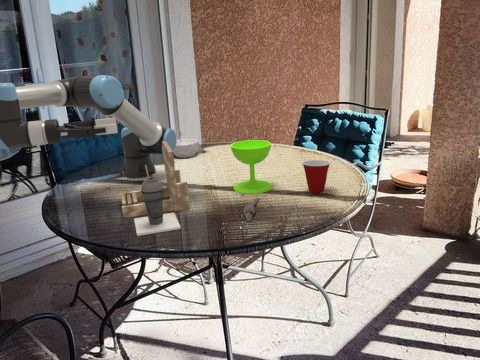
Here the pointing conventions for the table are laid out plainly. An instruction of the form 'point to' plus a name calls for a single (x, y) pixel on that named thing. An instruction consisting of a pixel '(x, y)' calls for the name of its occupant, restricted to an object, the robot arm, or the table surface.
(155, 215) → the beverage cup
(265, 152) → the wineglass
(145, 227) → the white tile
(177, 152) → the paper bowls
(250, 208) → the natural artifact
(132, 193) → the plywood offcuts
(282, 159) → the table surface
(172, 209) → the pine rack
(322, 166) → the plastic cup
